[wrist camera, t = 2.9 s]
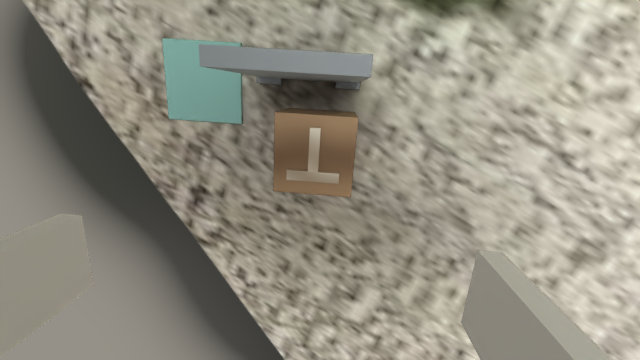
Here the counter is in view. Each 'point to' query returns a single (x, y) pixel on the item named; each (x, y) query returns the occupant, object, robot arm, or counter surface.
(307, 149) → the cube
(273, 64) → the screen
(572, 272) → the counter surface
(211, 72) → the mat
